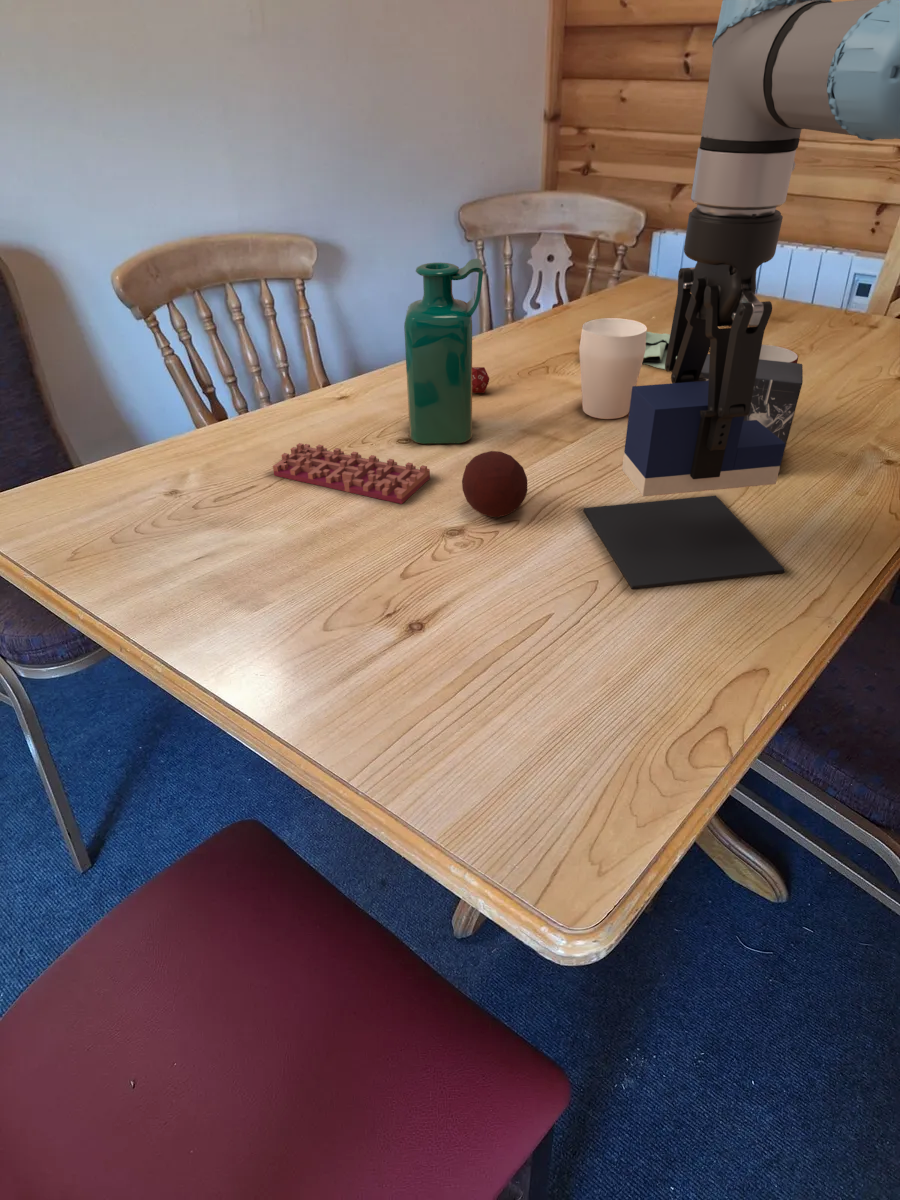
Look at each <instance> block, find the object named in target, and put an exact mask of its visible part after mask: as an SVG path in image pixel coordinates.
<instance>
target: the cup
mask: <svg viewBox="0 0 900 1200" xmlns="http://www.w3.org/2000/svg"><path fill="white" fill-rule="evenodd" d="M647 330H648V328H647V325H646V324H645V323H643V322H640V321H638V320H634V319H628V318H623V317H622V318H621V317H620V318H619V317H602V318H595V319H590V320H587V321H585V322H584V323H583V324H582V327H581V333H580V341H579V348H578V353H579V371H580V386H581V387H580V388H581V403H582V412H584V413H585V414H586V415H587V416H589V417H592V418H594V419H599V420H600V419H601V420H615V419H620V418H623V417H625V416H627V415H629V410H630V401H631V393H632V387H633V386H637V384H638V380H639V376H640V373H641V369H642V366H643V364H642V362H643V358H644V354H645V349H646V332H648V331H647Z"/></svg>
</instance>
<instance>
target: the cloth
mask: <svg viewBox="0 0 900 1200" xmlns="http://www.w3.org/2000/svg"><path fill="white" fill-rule="evenodd" d="M670 334H671V333H665V332H664V333H658V332H652V331H647V332H646V349H645V354H644V358H643V362H642V365H646V366H650V367H653V368H657V369H661V370H665V371H666V369H665V362H666V356H667V351H668V345H669V339H670ZM676 359H677V356H676Z"/></svg>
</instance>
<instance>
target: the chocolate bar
mask: <svg viewBox="0 0 900 1200" xmlns="http://www.w3.org/2000/svg"><path fill="white" fill-rule="evenodd" d="M280 456H281V460H279V461H278V462H277V463H275V464H273V465H272V469H273V476H275V477H280V478H283V479H284V478H285V479H289V480H293V481H297V482H301V483H307V484H310V485H314V486H315V485H316V486H320V487H324V488H328V489H333V490H338V491H342V492H347V493H351V494H355V495H360V496H365V497H368V498H373V499H377V500H378V499H379V500H382V501H387V502H390V503H395V504H400V505H403V504H404V503H405V502H407V500H409V499H410V498H411V497H412V496H413V495H414V494H415V493H416V492H417V491H418V490H419V489H420V488H421V487H423V485H425V484H426V483H427V482H428V481H429V480H431V470H430V468H428V466H427V465H423V464H422V465H421V466H420V467H419V468H417V467H416V465H414V463H413V462H407V463H406V464H405V466H404V465H399V464H398V461H395V458H394V459H393V458H389V459H387V460H386V462H385V461H384V462H383V461H380V458H378V457H377V456H376V455H375V454H374V455H373V454H371V455H369V456H368V458H365V457H362V454H359V452H358V451H352V452H351V453H350V454H345V451H344V450H343V451H342V449H341V448H338V447H336V448H334V449H333V451H331V450H328V448H327V447H324V444H318V445H316V446H315V447H311V444H309V443H305V444H304V443H301V442H299V443H297V444H296V446H293V447H291V448H290V454H289V453H287V452H284V453H282V454H281V455H280Z"/></svg>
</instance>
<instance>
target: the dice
mask: <svg viewBox="0 0 900 1200" xmlns="http://www.w3.org/2000/svg"><path fill="white" fill-rule="evenodd" d="M489 383H490V376H489V374H488V372H487V370H486V368H485V367H484V366H482V367H479V366H477V367H475V366H472V394H479V393H480V394H481V393H482V394H484V393H485V392H486V391H487V387H488V386H489Z"/></svg>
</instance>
